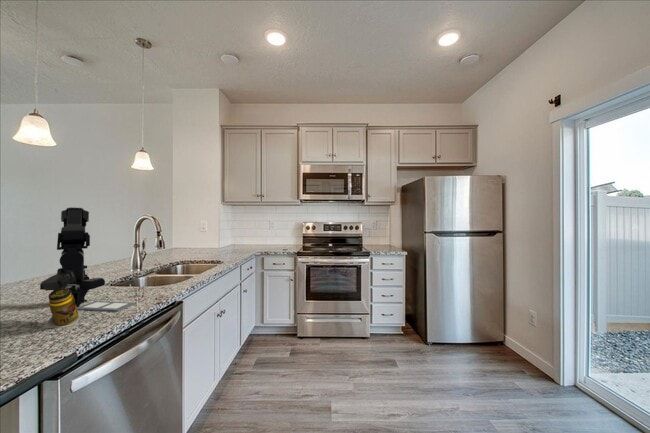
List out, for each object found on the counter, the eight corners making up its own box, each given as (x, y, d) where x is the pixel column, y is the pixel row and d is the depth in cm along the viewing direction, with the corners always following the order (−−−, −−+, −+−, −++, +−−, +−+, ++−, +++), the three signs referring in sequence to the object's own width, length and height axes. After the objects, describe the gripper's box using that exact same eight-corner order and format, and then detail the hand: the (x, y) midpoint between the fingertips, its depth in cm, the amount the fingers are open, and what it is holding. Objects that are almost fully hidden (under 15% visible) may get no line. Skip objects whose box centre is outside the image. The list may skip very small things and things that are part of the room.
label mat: (74, 310, 102) (74, 308, 102) (95, 302, 111) (95, 300, 111) (117, 311, 102) (117, 309, 102) (135, 304, 111) (135, 302, 111)
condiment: (74, 326, 88) (66, 298, 84) (41, 329, 85) (31, 301, 81) (84, 310, 94) (78, 284, 90) (54, 313, 91) (46, 286, 87)
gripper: (20, 269, 84) (21, 316, 84) (75, 269, 83) (76, 316, 84) (57, 262, 95) (58, 304, 95) (105, 262, 94) (106, 304, 95)
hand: (73, 307), depth 92 cm, fingers closed
